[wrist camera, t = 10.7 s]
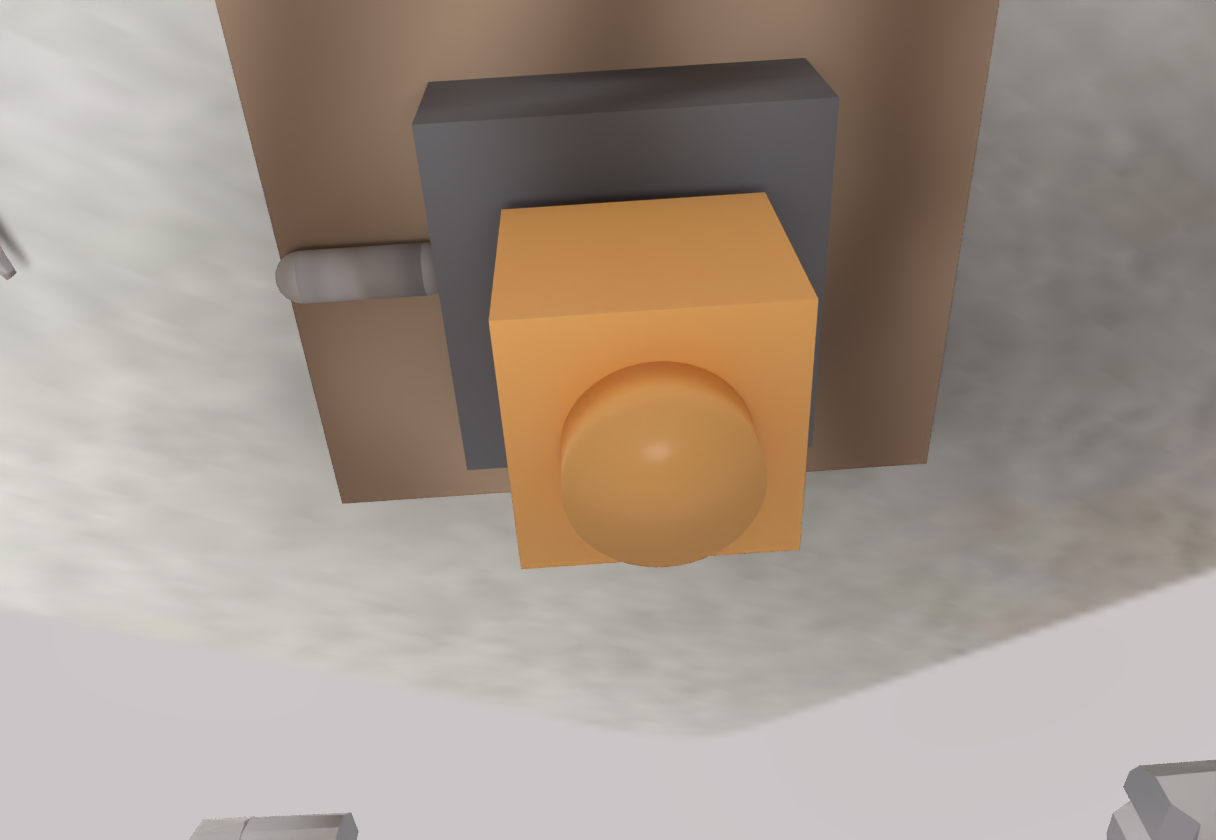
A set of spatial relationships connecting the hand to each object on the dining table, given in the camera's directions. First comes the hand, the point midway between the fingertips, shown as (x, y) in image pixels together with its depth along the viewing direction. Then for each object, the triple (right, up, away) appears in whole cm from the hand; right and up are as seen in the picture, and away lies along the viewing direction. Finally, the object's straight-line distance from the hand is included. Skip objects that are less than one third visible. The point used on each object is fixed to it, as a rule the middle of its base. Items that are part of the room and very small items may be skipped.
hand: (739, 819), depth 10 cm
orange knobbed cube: (-1, +6, +10) cm, 12 cm away
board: (-1, +9, +14) cm, 17 cm away
